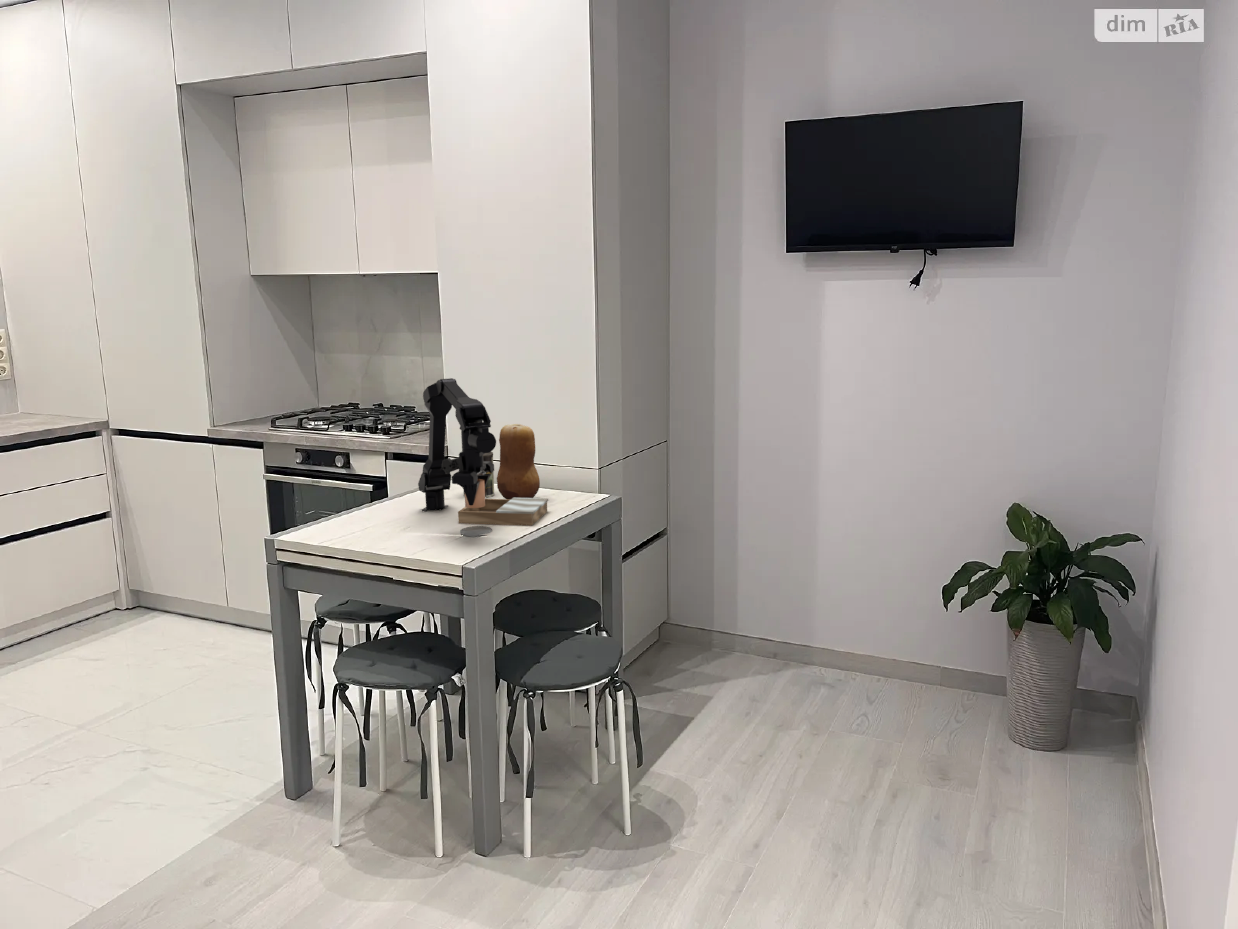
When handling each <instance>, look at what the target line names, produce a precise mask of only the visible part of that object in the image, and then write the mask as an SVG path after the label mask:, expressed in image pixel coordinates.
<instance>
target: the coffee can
mask: <svg viewBox="0 0 1238 929" xmlns="http://www.w3.org/2000/svg"><path fill="white" fill-rule="evenodd" d="M483 461H491V462H492V463H493V464H494V452H493V451H491V452H489V453H485V454H484V455H483ZM494 473H495V470H494V471H493V472H492V473H489V471H486V474H491V476H490V477H489V480H488V482H487V485H486V487H485V497H487V498H491V497H494V496H495V476H494ZM464 496H465V492H464V491H463V497H464ZM490 496H491V497H490Z"/></svg>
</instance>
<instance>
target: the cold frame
mask: <svg viewBox="0 0 1238 929" xmlns="http://www.w3.org/2000/svg"><path fill="white" fill-rule="evenodd" d="M548 501H550V500H549V498H547V497H546V498H545V497H542V498H540V497H534V498H512V499H505V498H485V506H484V507H481V508H467V507H465V506H464V507H463V508H461V509H460V510H458V511H457V517H458V518H457V520H458V524H466V525H467V524H469V525H470V524H471V525H495V526H496V525H497V526H498V525H499V526H501V525H502V526H503V525H504V526H505V525H506V526H507V525H508V526H527V527H528V526H529V527H531V526H533V525H534V524H535V523H536V522H538V521H539V520H540V519H541V518H542V517H543V516H544V515H546V513H548Z"/></svg>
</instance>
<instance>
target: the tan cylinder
mask: <svg viewBox="0 0 1238 929" xmlns="http://www.w3.org/2000/svg"><path fill="white" fill-rule="evenodd" d="M477 481H480V483H479V487H478V491H477V494H476V498H475V501H474V504H473V505H469V503H468V500H467V497H466V494H465V497H464V505H465V506H464V507H467V508H481V507H484V506H485V499H486V498H485V483H484V480H482V479H477Z"/></svg>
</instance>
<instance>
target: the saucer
mask: <svg viewBox="0 0 1238 929" xmlns="http://www.w3.org/2000/svg"><path fill="white" fill-rule="evenodd" d="M491 532H493V528H492V527H491V526H486V525H474V526H473V525H472V526H471V525H470V526H467V527H464V528H461V529H460V531H459V533H460V536H462V535H463V537H468V538H479V537H486V536H488V535H487V534H490V533H491Z"/></svg>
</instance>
